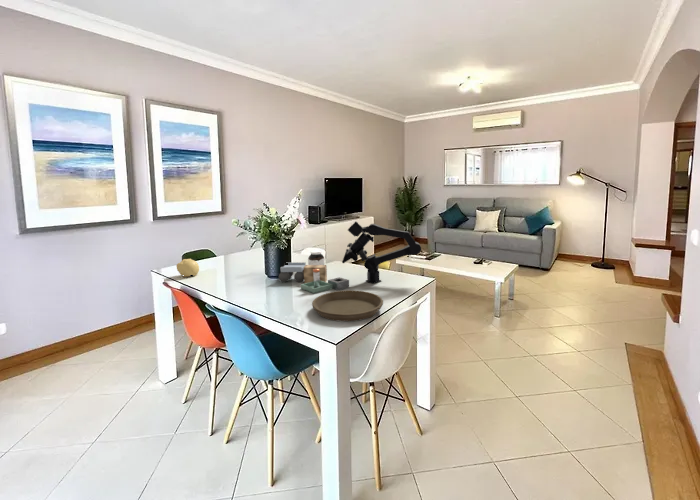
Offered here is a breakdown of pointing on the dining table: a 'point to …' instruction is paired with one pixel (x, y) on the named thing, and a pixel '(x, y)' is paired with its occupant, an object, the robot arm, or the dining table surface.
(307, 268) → the block
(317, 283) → the pin
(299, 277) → the trolley
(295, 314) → the dining table surface
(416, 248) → the robot arm
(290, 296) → the dining table surface
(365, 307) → the plant saucer
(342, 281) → the holder
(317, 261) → the spread jar
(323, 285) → the tray
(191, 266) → the sculpture
